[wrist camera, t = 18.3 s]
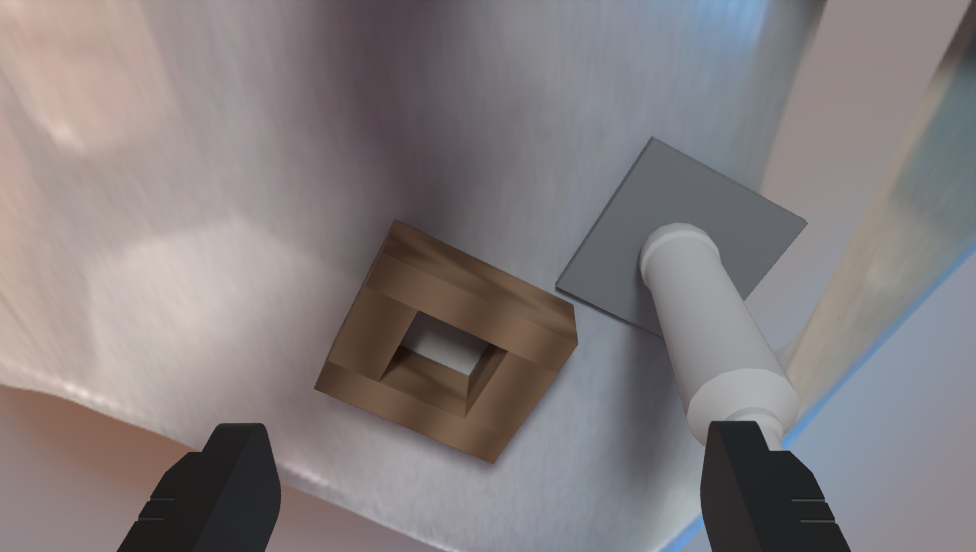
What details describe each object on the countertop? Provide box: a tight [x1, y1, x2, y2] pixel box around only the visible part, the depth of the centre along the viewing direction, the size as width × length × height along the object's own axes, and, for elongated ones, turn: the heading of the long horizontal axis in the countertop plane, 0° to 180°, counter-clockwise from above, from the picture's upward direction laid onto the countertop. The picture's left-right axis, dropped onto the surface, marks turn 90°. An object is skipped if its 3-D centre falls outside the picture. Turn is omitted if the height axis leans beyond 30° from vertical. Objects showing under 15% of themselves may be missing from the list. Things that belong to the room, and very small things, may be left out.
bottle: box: [639, 223, 799, 451], centre depth 37 cm, size 5×5×25 cm
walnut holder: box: [314, 220, 578, 464], centre depth 50 cm, size 14×12×5 cm
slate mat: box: [556, 137, 808, 338], centre depth 48 cm, size 12×12×1 cm
